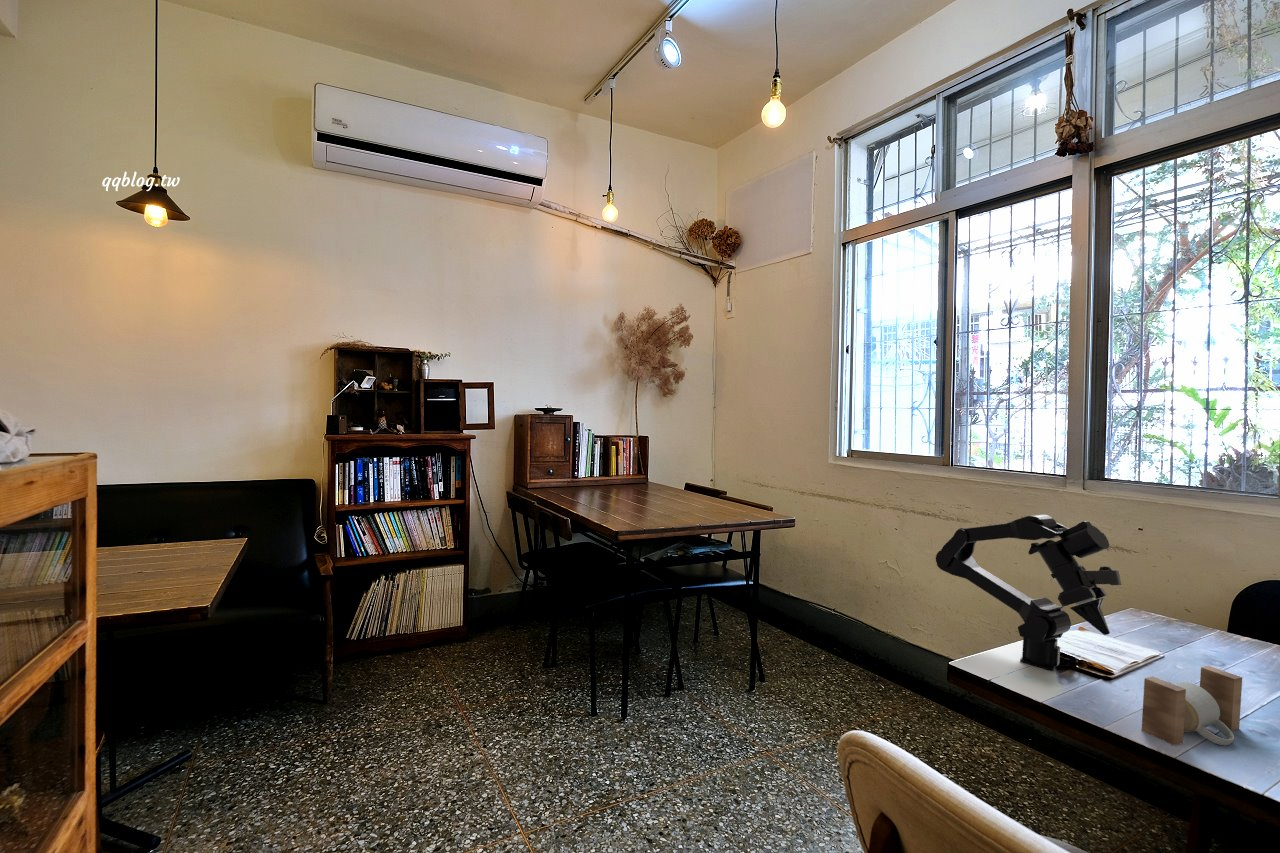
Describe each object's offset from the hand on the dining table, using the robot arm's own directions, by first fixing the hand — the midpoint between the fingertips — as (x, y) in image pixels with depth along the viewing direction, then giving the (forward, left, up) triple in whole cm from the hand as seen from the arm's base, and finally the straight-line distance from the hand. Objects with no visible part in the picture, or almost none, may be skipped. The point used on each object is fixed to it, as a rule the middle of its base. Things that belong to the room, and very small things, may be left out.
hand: (1107, 634), depth 122 cm
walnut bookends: (+14, -9, -12) cm, 20 cm away
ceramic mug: (+14, -8, -12) cm, 20 cm away
